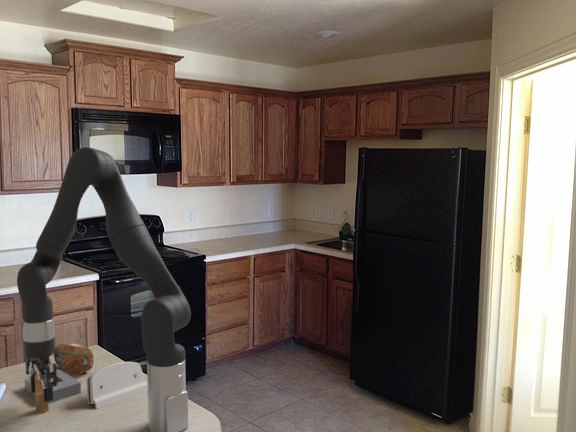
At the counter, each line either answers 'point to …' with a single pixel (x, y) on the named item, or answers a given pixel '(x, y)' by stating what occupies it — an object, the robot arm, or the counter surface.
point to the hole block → (60, 386)
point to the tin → (73, 358)
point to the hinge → (115, 383)
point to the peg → (40, 397)
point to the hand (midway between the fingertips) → (41, 396)
